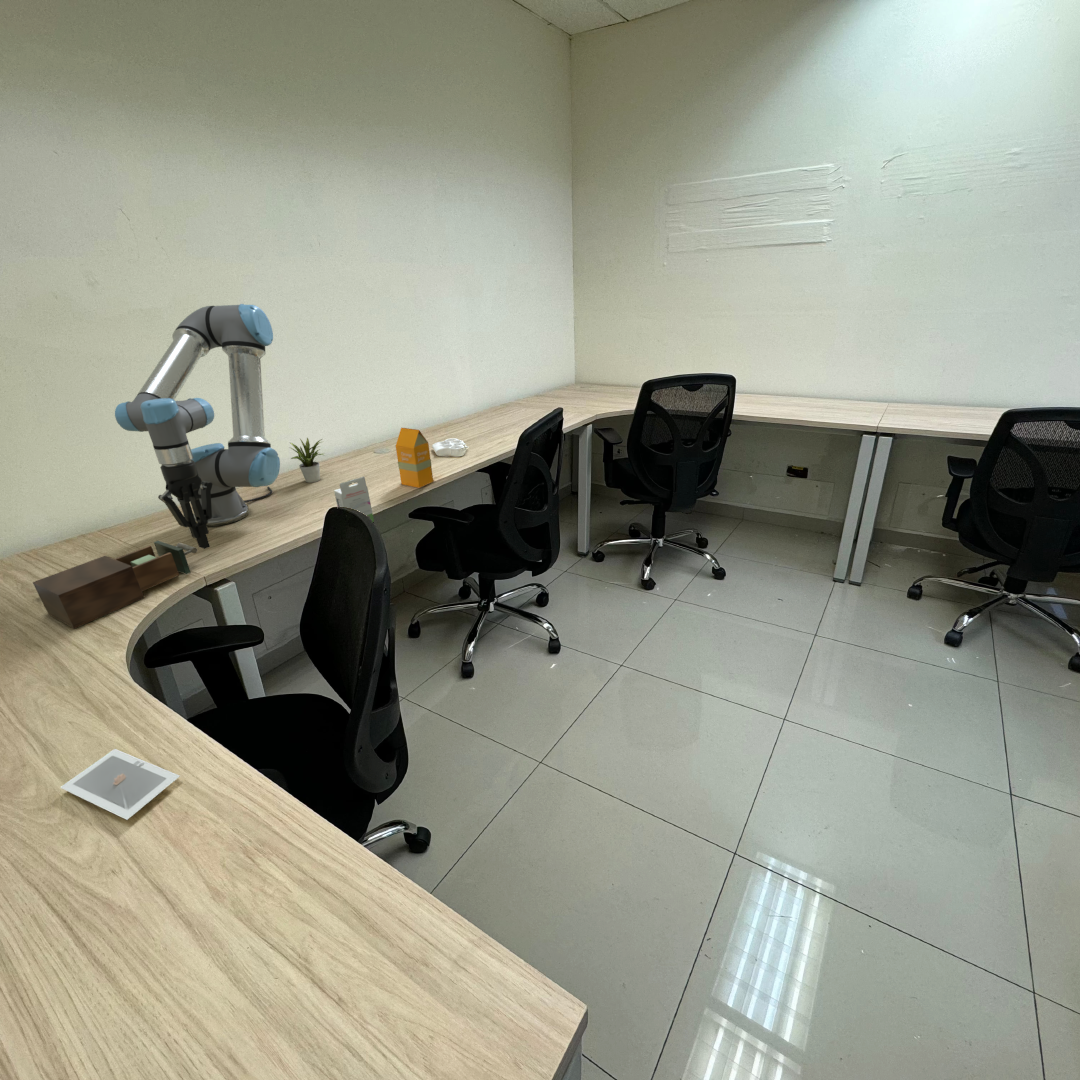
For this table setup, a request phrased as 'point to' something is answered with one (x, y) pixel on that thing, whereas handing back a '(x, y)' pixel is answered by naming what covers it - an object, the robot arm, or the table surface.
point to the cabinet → (89, 591)
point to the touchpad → (120, 783)
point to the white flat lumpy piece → (450, 447)
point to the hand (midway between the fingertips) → (204, 546)
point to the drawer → (159, 563)
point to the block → (142, 560)
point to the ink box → (354, 496)
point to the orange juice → (413, 458)
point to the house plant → (308, 461)
